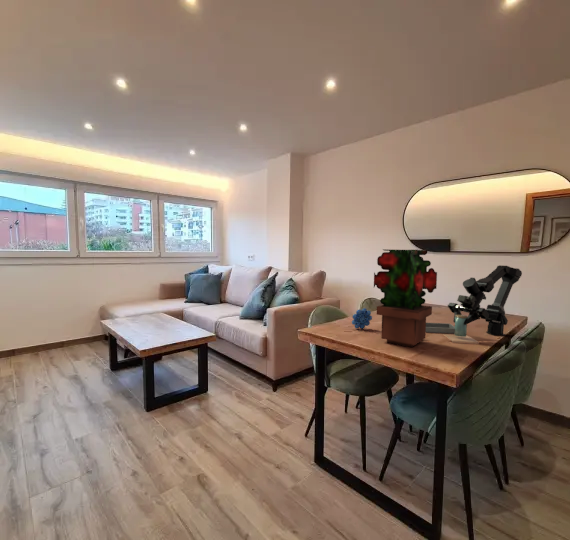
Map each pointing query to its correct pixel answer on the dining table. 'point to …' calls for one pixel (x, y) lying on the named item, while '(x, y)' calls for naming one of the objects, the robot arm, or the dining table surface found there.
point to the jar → (460, 325)
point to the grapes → (361, 318)
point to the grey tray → (440, 328)
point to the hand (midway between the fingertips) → (459, 323)
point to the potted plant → (404, 295)
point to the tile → (461, 339)
